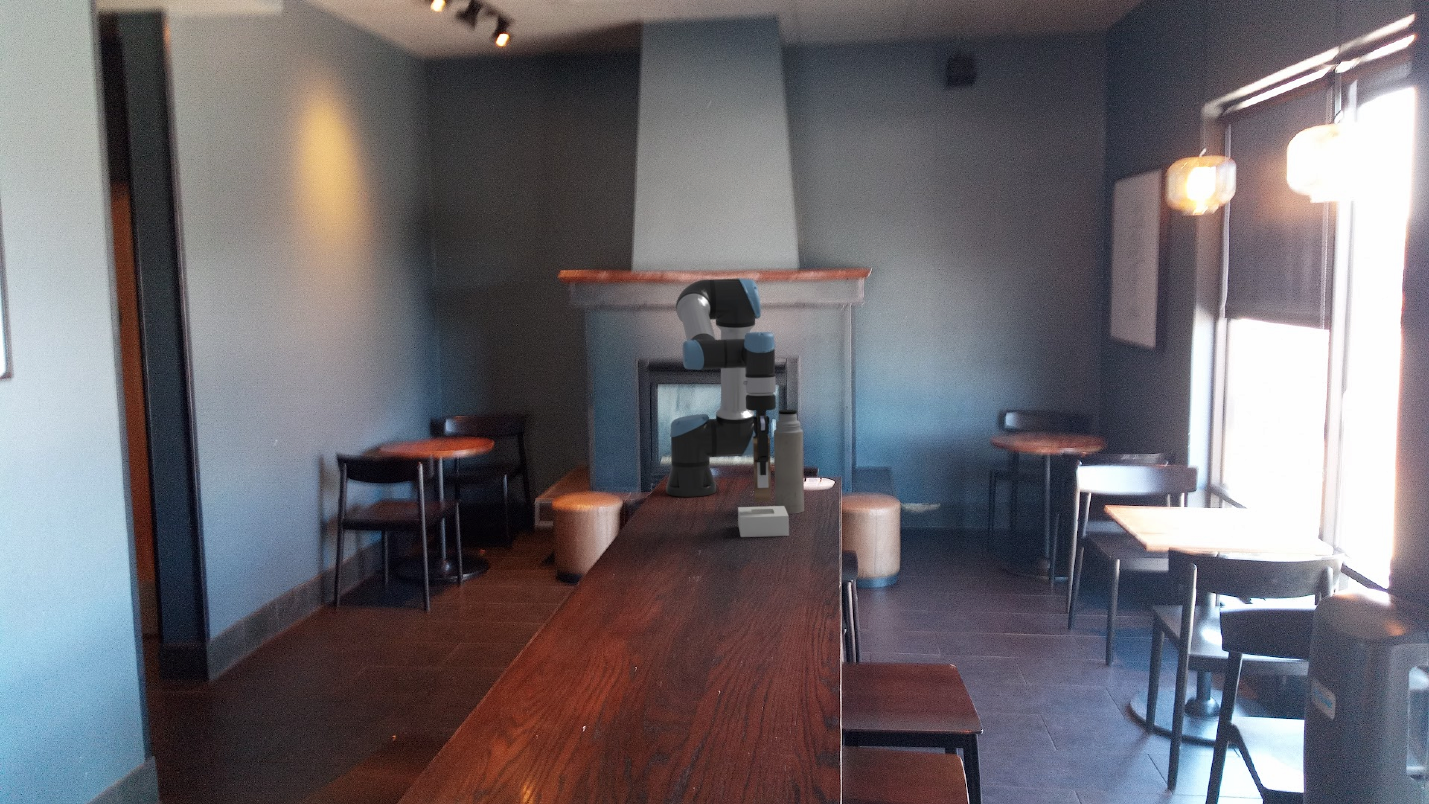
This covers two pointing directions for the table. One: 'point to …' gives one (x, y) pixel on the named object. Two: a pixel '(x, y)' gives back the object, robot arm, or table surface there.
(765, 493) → the bronze peg
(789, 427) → the thermos bottle
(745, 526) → the socket block
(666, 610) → the table surface
